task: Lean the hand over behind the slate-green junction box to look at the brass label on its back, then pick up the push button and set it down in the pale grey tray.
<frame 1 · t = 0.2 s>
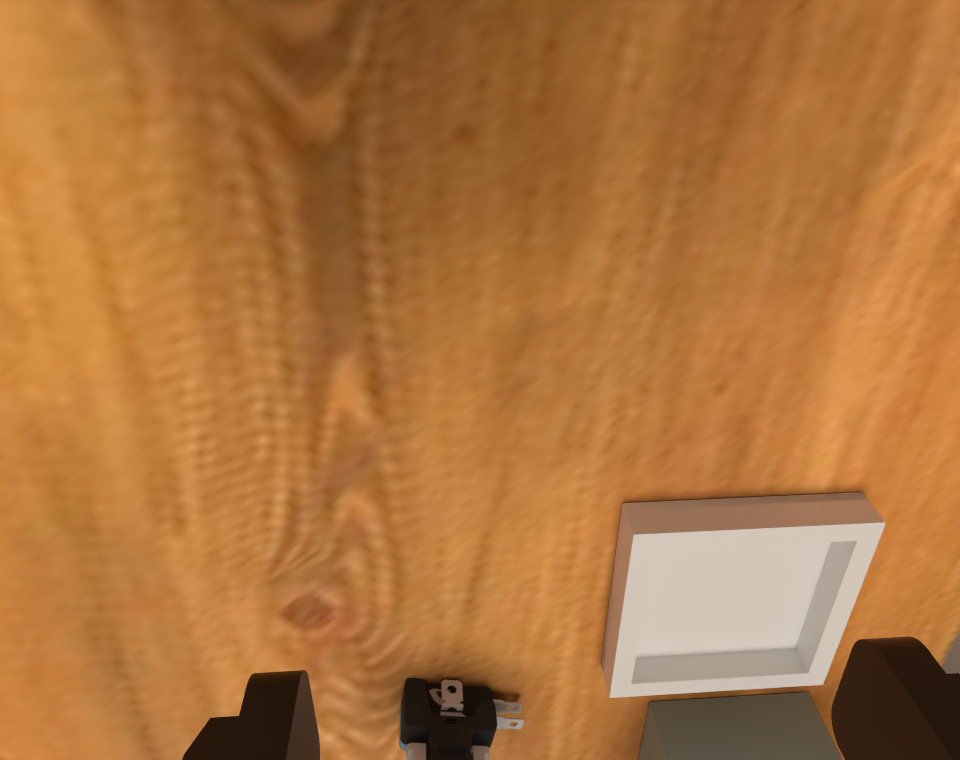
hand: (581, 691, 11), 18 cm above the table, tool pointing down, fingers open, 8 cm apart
tray: (722, 584, 35), on the table
junction box: (718, 734, 42), on the table
push button: (458, 692, 39), on the table
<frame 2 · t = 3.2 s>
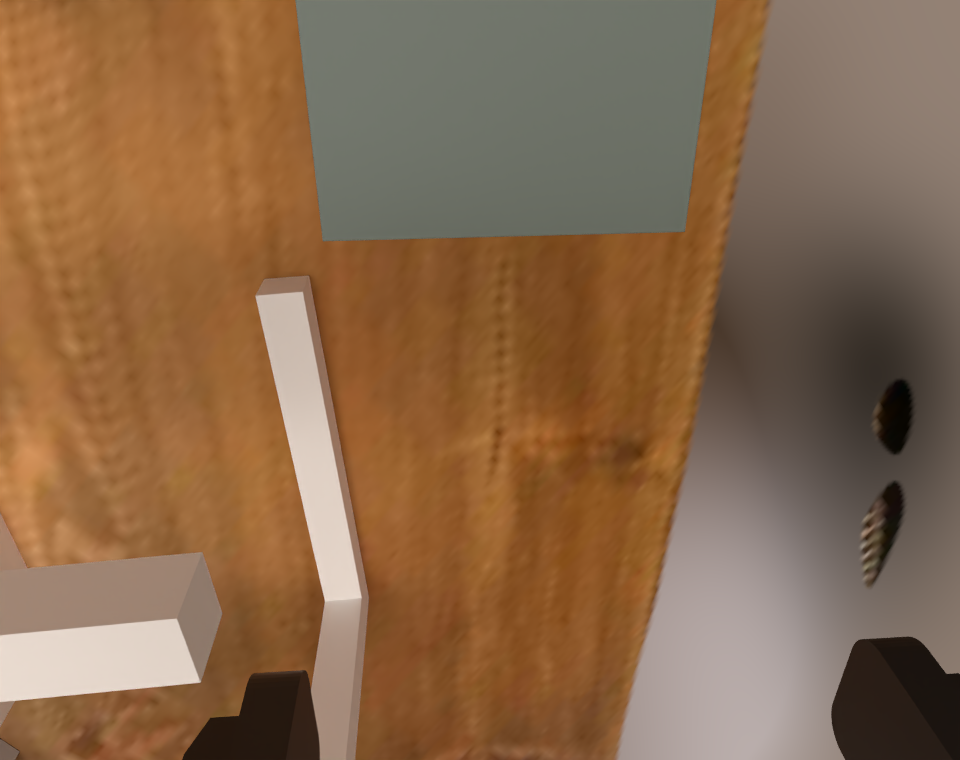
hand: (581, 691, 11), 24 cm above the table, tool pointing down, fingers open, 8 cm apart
bookend: (148, 472, 37), on the table
junction box: (475, 41, 28), on the table
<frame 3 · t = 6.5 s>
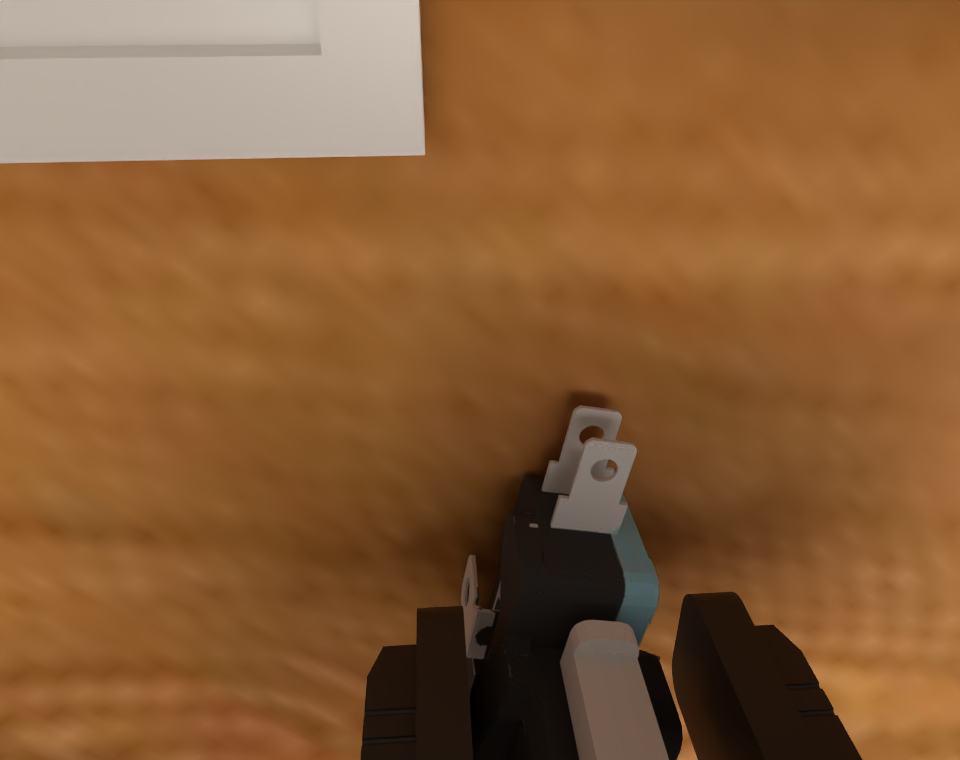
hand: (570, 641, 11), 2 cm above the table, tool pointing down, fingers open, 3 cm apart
push button: (548, 538, 14), on the table, touching gripper
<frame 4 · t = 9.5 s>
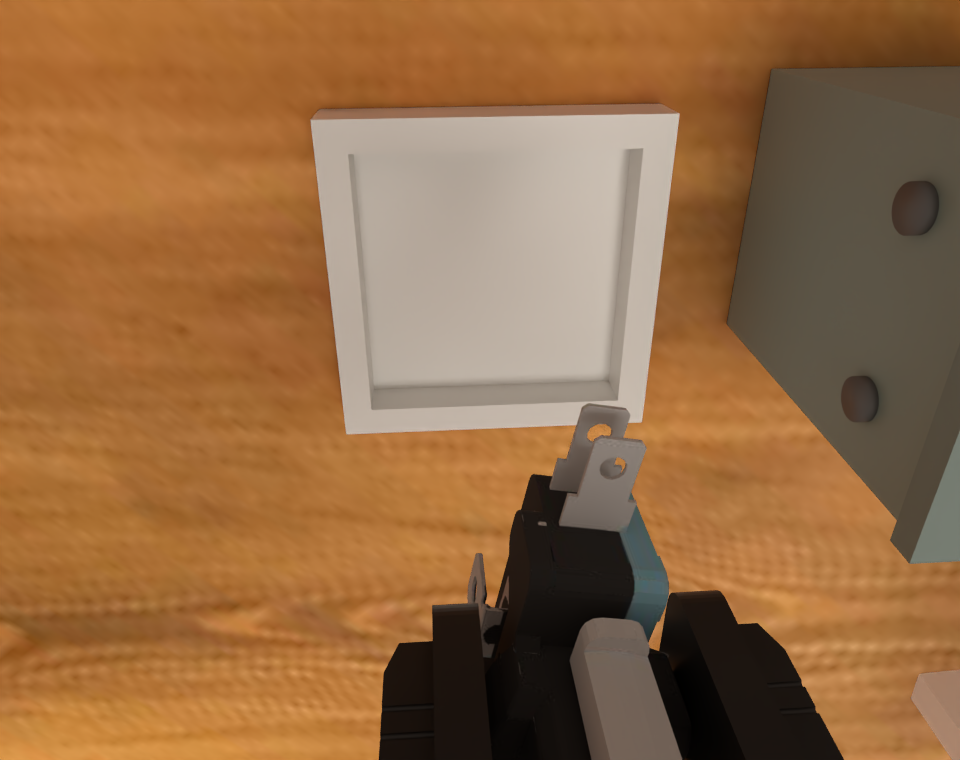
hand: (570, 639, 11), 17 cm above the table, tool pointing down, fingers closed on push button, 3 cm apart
tray: (491, 268, 26), on the table
junction box: (843, 205, 26), on the table
push button: (555, 537, 14), point 14 cm above the table, touching gripper
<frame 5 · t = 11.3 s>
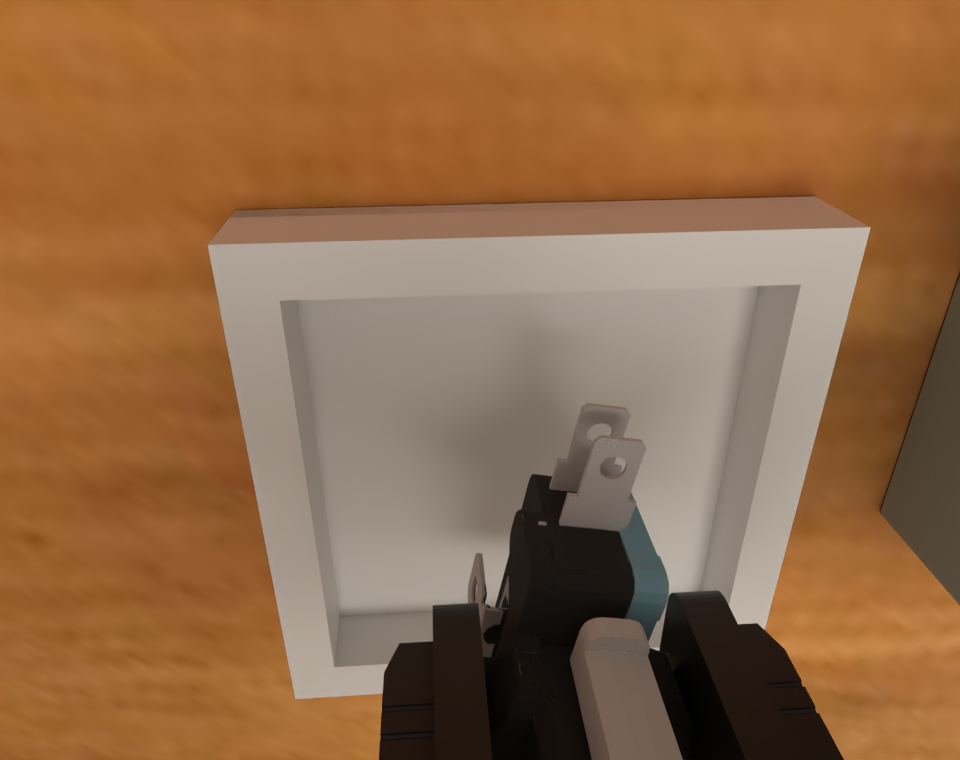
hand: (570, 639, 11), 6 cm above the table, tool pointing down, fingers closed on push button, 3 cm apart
tray: (524, 445, 16), on the table
push button: (555, 536, 14), point 3 cm above the table, touching gripper
when the fingers open (4 cm above the table, at t = 12.4 s): push button drops 1 cm, resting on tray.
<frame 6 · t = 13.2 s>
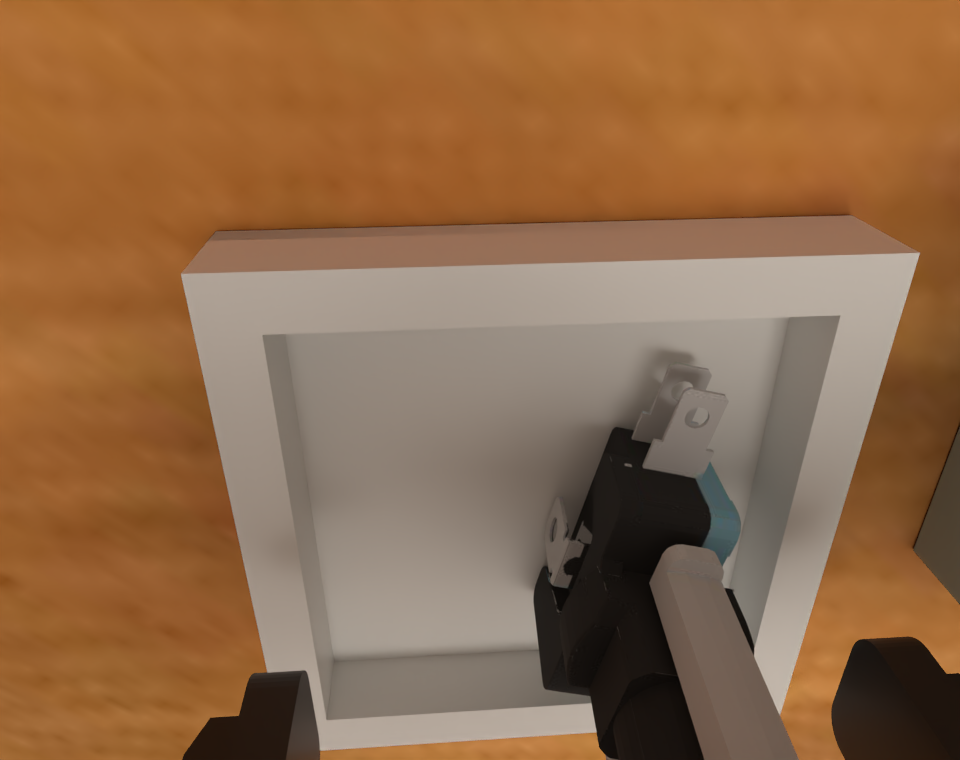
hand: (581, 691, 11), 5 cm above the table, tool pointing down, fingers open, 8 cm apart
tray: (532, 481, 15), on the table
push button: (626, 490, 15), resting on tray, touching gripper
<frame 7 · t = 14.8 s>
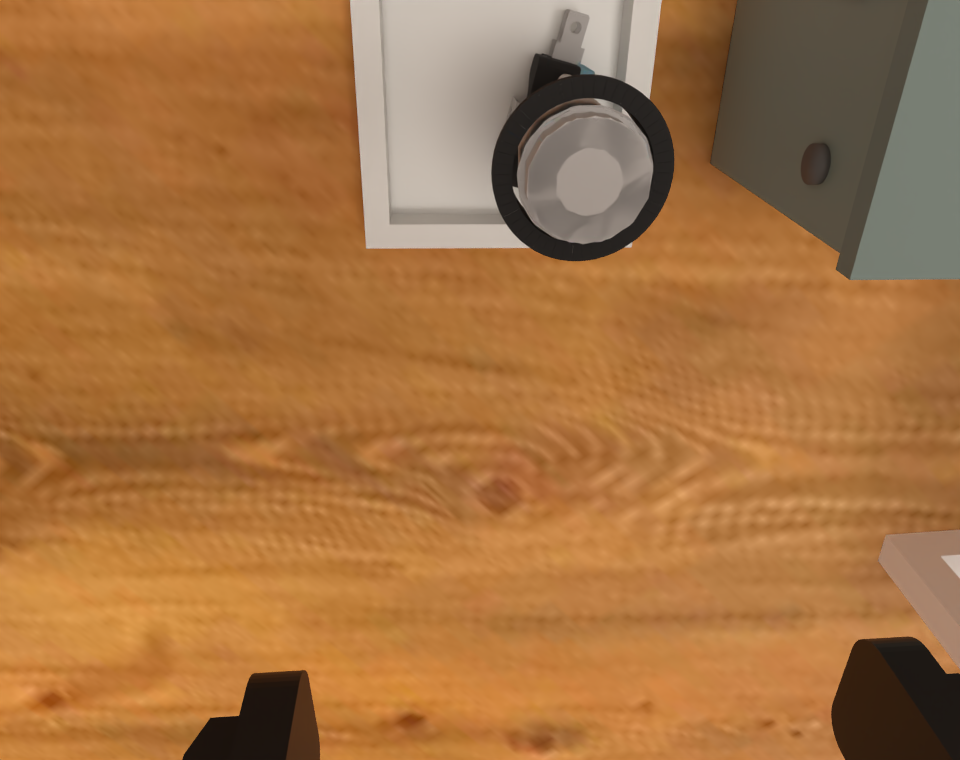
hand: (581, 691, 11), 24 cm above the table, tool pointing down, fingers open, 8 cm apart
tray: (500, 99, 29), on the table
junction box: (816, 47, 29), on the table
push button: (548, 101, 29), resting on tray
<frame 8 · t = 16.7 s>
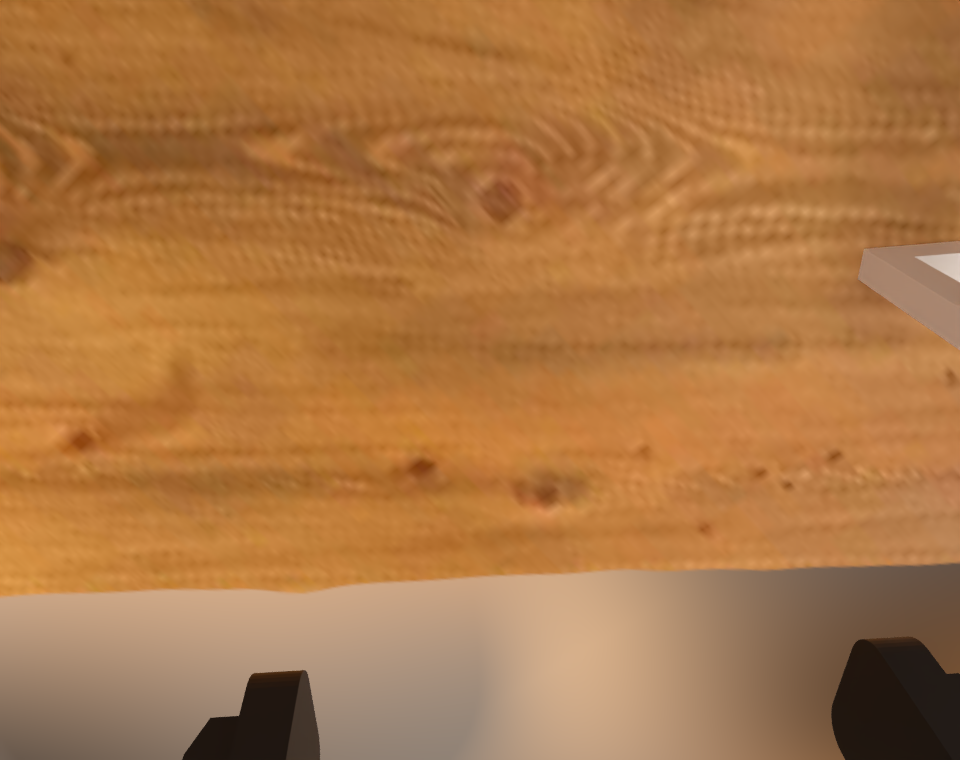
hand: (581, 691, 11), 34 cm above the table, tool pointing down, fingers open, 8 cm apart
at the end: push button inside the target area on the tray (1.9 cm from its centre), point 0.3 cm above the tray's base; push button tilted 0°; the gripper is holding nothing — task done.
